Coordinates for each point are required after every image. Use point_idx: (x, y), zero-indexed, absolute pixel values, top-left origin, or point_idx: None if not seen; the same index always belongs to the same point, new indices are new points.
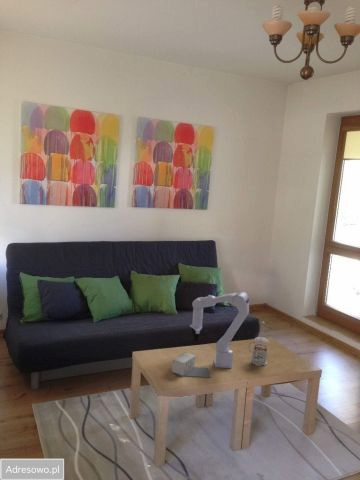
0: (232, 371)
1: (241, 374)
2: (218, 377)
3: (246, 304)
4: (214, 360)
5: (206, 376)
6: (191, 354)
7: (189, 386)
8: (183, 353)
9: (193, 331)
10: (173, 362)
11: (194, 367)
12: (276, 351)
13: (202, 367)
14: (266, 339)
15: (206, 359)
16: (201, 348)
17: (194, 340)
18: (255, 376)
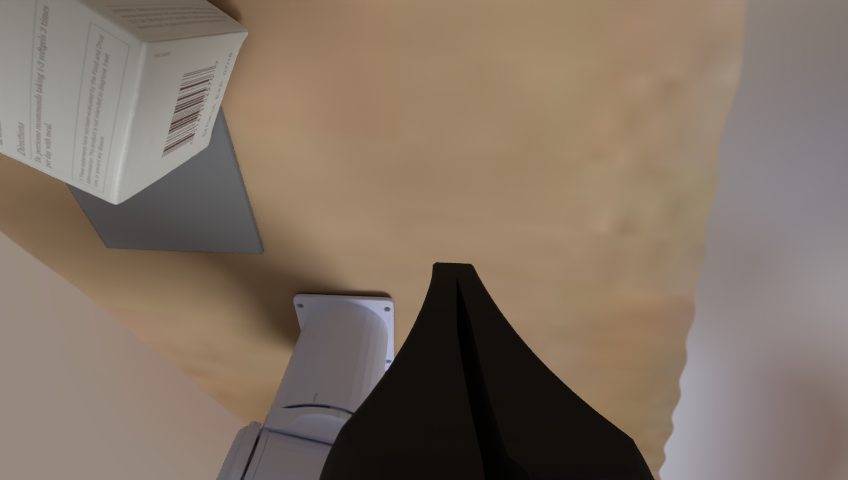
0: (272, 358)
1: (252, 383)
2: (150, 288)
3: None
4: (389, 303)
5: (98, 223)
6: (105, 158)
7: None
8: (56, 14)
9: (321, 477)
10: None
11: (217, 147)
12: None
13: (247, 214)
14: None
15: (419, 256)
16: (634, 247)
17: (432, 276)
18: (255, 419)
